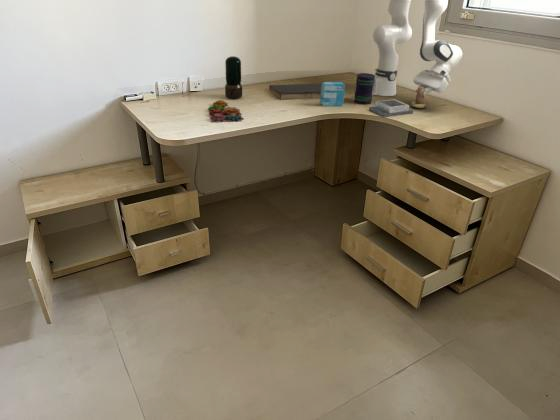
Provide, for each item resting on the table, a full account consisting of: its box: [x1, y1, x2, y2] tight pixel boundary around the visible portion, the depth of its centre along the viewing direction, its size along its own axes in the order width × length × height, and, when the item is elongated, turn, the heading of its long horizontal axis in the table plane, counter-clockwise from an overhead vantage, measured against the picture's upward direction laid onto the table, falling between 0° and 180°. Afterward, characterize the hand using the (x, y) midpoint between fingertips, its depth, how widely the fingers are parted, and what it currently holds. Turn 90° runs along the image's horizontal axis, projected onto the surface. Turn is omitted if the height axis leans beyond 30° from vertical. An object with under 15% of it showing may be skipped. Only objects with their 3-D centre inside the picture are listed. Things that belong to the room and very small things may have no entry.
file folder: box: [269, 82, 323, 101], centre depth 252 cm, size 33×4×24 cm
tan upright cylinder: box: [411, 86, 427, 109], centre depth 232 cm, size 7×7×10 cm
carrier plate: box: [368, 98, 414, 118], centre depth 226 cm, size 13×19×4 cm
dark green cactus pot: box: [224, 55, 243, 100], centre depth 234 cm, size 10×10×22 cm
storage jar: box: [353, 72, 375, 106], centre depth 237 cm, size 10×10×15 cm
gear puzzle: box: [207, 99, 245, 123], centre depth 215 cm, size 31×16×4 cm, turn 12°
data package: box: [319, 81, 346, 107], centre depth 231 cm, size 12×4×12 cm, turn 98°
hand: (419, 93), depth 230 cm, fingers closed on tan upright cylinder, 4 cm apart
